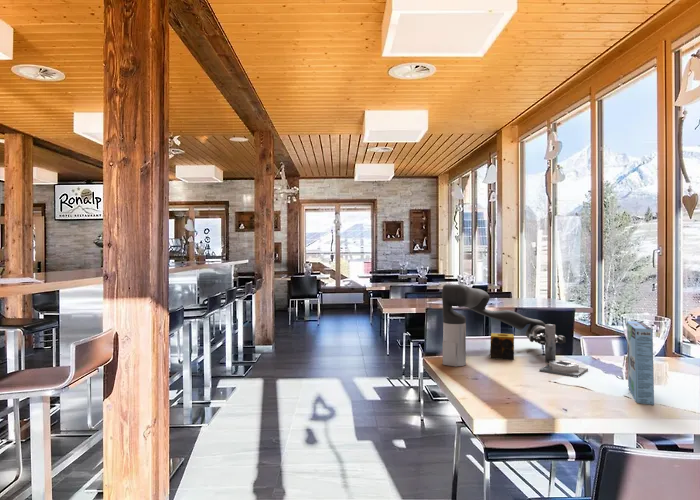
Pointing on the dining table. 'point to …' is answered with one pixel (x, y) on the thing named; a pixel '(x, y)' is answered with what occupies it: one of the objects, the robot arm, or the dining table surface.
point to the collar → (564, 368)
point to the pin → (549, 342)
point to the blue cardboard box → (640, 362)
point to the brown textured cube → (502, 346)
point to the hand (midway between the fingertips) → (550, 341)
